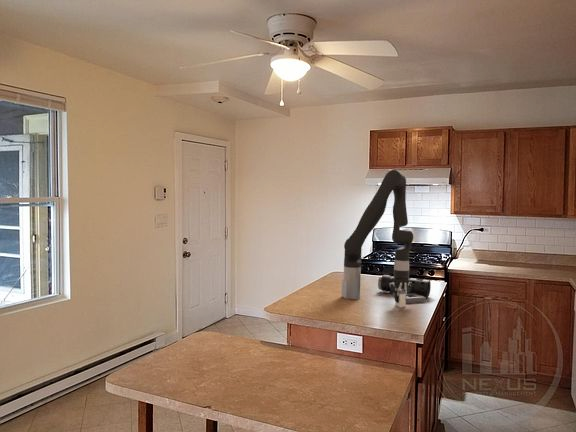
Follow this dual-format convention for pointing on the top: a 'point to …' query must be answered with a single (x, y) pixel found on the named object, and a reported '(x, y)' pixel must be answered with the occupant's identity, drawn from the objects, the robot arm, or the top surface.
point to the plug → (401, 299)
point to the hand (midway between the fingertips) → (400, 302)
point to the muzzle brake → (418, 287)
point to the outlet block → (414, 298)
